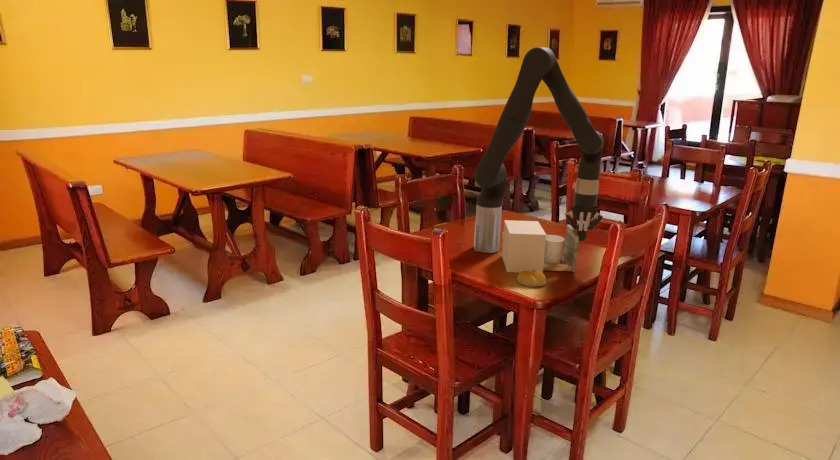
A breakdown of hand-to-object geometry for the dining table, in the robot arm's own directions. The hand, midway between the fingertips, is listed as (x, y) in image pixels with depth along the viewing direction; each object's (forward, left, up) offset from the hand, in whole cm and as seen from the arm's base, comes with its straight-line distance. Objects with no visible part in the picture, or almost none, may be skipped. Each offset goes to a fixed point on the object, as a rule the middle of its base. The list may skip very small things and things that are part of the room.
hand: (580, 240), depth 198 cm
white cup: (-10, 0, -10) cm, 14 cm away
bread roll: (-19, -17, -10) cm, 27 cm away
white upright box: (-20, 0, -9) cm, 22 cm away
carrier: (-9, 0, -9) cm, 13 cm away
